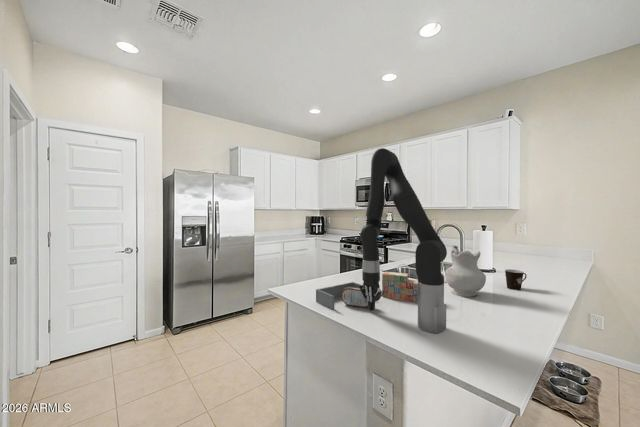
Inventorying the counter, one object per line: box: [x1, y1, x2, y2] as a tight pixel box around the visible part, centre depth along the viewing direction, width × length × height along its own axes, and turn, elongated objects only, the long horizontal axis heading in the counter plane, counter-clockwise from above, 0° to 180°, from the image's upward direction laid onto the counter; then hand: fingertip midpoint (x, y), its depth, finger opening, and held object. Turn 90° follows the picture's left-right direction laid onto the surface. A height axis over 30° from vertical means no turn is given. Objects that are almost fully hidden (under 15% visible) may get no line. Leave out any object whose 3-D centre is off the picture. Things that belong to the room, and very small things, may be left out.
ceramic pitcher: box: [444, 244, 487, 298], centre depth 146 cm, size 22×20×25 cm
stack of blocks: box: [381, 271, 418, 303], centre depth 137 cm, size 21×6×12 cm, turn 64°
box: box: [315, 281, 363, 311], centre depth 133 cm, size 13×24×6 cm, turn 125°
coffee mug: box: [504, 268, 527, 291], centre depth 154 cm, size 12×9×10 cm
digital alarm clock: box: [340, 287, 368, 309], centre depth 125 cm, size 15×3×8 cm, turn 68°
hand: (371, 309), depth 118 cm, fingers closed
